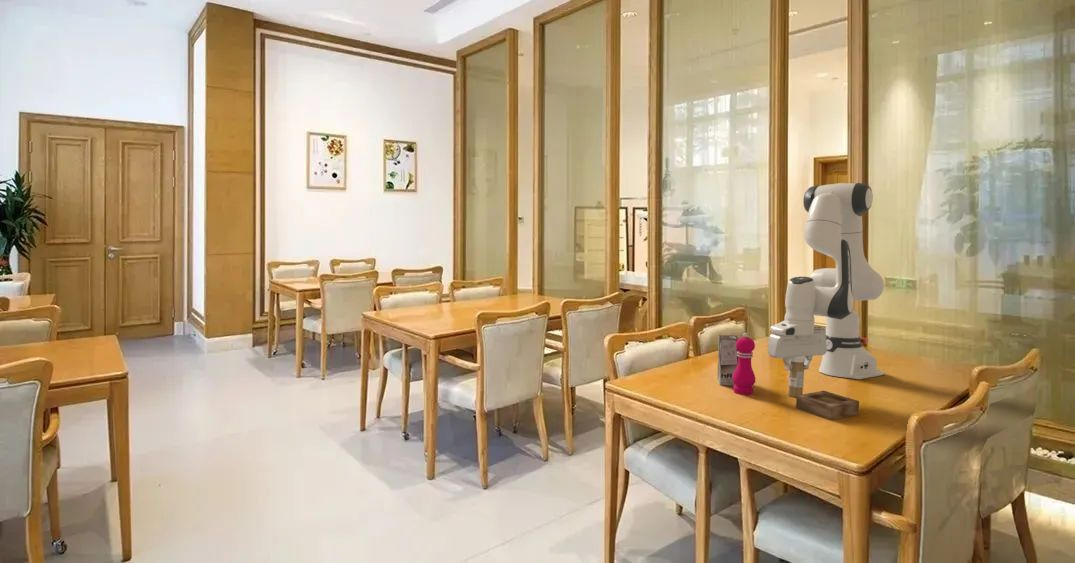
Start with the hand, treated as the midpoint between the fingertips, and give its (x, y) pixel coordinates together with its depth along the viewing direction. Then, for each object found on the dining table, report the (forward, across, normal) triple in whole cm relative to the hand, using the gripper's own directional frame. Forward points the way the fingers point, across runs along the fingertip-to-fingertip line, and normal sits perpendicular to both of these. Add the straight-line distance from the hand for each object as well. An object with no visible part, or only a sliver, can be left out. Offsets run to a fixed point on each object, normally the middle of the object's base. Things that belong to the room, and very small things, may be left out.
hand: (796, 369), depth 194 cm
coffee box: (+9, +12, -20) cm, 25 cm away
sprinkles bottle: (+9, 0, 0) cm, 9 cm away
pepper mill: (+9, +14, -8) cm, 18 cm away
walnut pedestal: (+9, +2, +16) cm, 18 cm away
